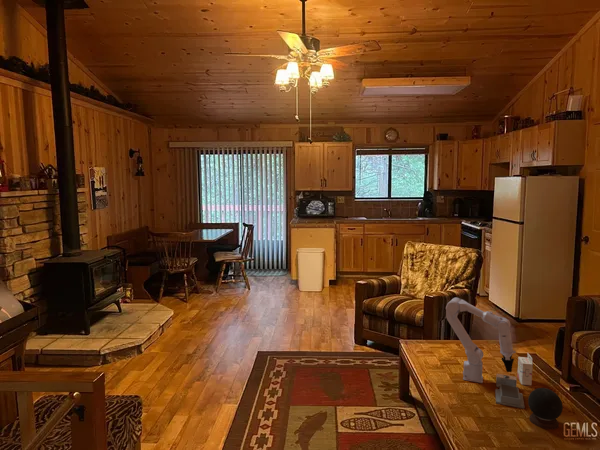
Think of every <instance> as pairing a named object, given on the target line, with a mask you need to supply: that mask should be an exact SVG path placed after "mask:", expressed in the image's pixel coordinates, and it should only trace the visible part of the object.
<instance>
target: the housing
mask: <svg viewBox="0 0 600 450" xmlns="http://www.w3.org/2000/svg"><path fill="white" fill-rule="evenodd" d="M495 378H496V381H495V383H496V384H495V386H496V388H500V384H502V385H508V386H513V387H517V380H518V379H517V376H515V375H508V374H501V373H496V377H495Z"/></svg>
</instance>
